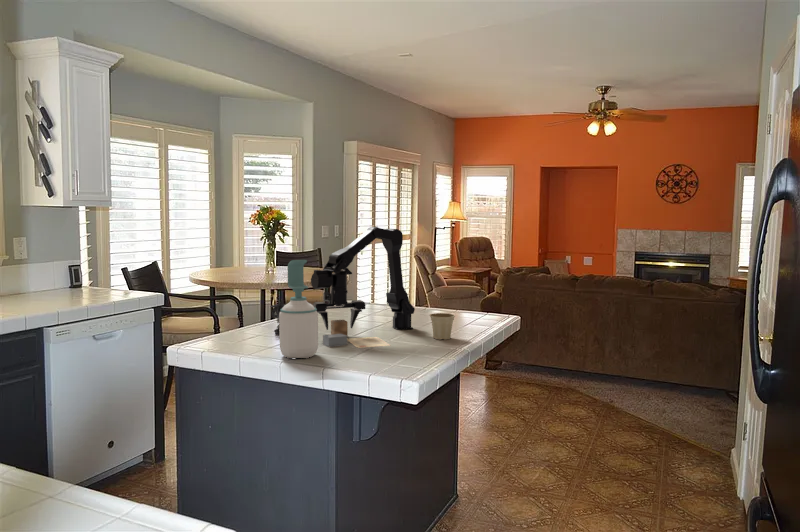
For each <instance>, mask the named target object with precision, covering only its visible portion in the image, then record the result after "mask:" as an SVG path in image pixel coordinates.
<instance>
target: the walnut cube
mask: <svg viewBox="0 0 800 532" xmlns="http://www.w3.org/2000/svg"><path fill="white" fill-rule="evenodd" d="M348 326H349V324H348V321H347V320H346V319H331V320H330V335H331V334H340V333H341V334H344V335H346V336H347V338H348V331H349V329H348Z"/></svg>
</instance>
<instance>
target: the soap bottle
mask: <svg viewBox="0 0 800 532" xmlns="http://www.w3.org/2000/svg"><path fill="white" fill-rule="evenodd" d="M307 262H308V260H307V259H292V260H290V261H289V262H288V264H287V285H288V288H290V289H292V292H293V293H294V296H291V297H290V298H289V299H290V301H289V302H288V303H287V304H285V306H284V307H283V308H282V309H280V310H281V312H280V313H279V323H278V325H279V334H278V335H279V349H280V352H281V354H282V356H283V357H285V358H286V357H287V358H286V359H289V358H306V359H309V357H310V358H312V357H313V356H315V355H316V354H317V352H318V349H319V313H318V312H317V311H316V310H317V309H316V308H315V307H314V306H313V303H311V302H308V301H307V300H308V298H307V296H303V294H302V292H304V291H305V289H309V286H308V285H305V281H304V277H305V276H304V275H305V274H304V268H305V267H304V265H306V264H307Z"/></svg>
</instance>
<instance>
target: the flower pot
mask: <svg viewBox="0 0 800 532" xmlns="http://www.w3.org/2000/svg"><path fill="white" fill-rule="evenodd" d="M455 317H456V314H453V313H446V312H438V313H437V312H435V313H430V314H429V318H430V320H431V326H432V327H431V328H432V337H433V338H434V339H435V340H450V339H451V336H452V329H453V323H454V320H455Z"/></svg>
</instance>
